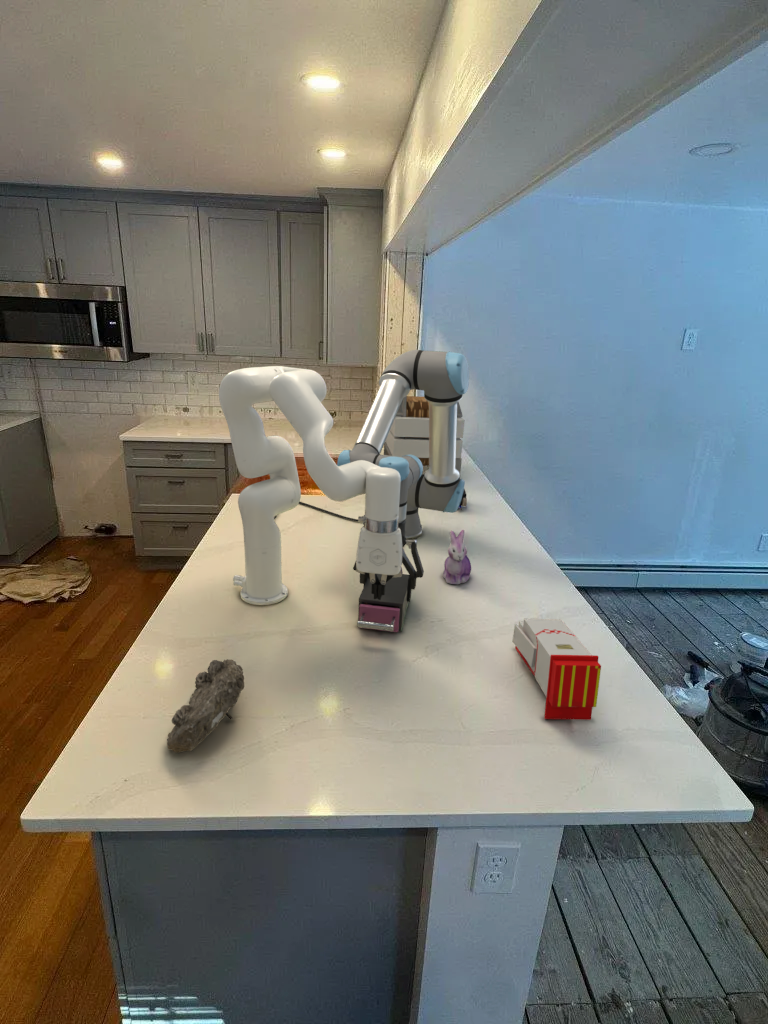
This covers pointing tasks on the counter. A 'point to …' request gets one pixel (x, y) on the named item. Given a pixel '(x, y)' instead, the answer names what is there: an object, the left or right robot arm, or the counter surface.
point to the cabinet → (389, 595)
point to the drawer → (379, 617)
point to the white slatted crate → (417, 431)
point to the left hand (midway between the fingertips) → (378, 596)
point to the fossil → (206, 705)
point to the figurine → (457, 560)
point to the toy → (559, 667)
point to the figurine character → (463, 500)
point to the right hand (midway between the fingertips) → (387, 596)
